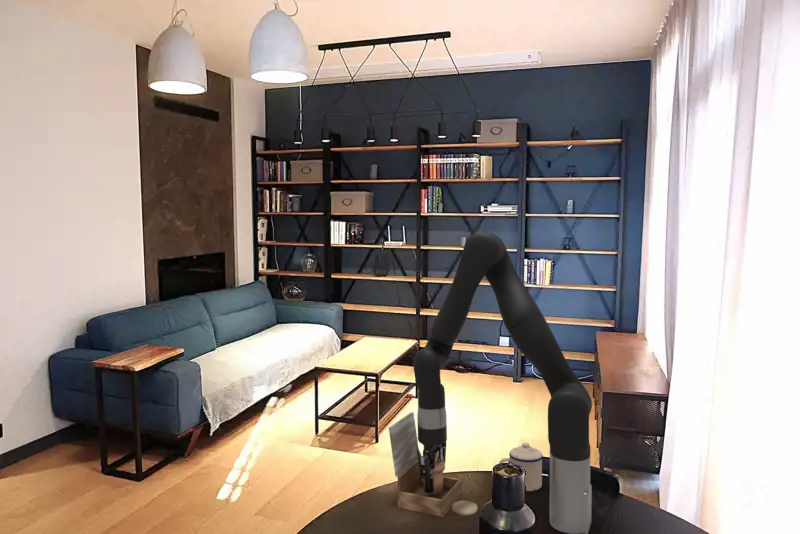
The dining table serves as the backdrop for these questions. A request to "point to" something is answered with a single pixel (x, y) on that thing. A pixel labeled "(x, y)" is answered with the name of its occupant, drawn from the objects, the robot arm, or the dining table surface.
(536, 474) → the teacup with lid
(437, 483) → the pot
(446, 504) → the cold frame
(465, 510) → the coaster
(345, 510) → the dining table surface
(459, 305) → the robot arm
